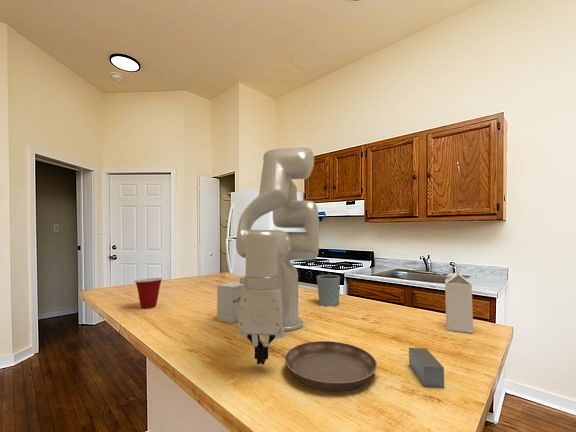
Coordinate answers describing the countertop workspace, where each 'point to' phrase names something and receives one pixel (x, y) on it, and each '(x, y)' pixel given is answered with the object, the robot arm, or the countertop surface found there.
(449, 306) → the milk carton
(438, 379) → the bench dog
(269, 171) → the robot arm
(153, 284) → the plastic cup
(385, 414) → the countertop surface
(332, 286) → the grey green tapered pot
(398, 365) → the countertop surface
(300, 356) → the plant saucer
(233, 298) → the supplement box
